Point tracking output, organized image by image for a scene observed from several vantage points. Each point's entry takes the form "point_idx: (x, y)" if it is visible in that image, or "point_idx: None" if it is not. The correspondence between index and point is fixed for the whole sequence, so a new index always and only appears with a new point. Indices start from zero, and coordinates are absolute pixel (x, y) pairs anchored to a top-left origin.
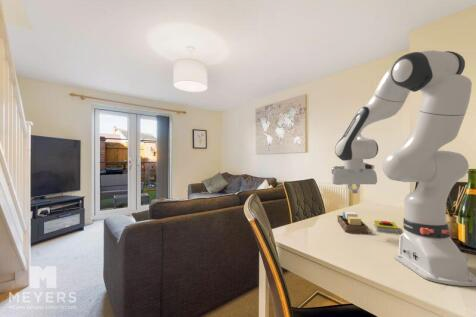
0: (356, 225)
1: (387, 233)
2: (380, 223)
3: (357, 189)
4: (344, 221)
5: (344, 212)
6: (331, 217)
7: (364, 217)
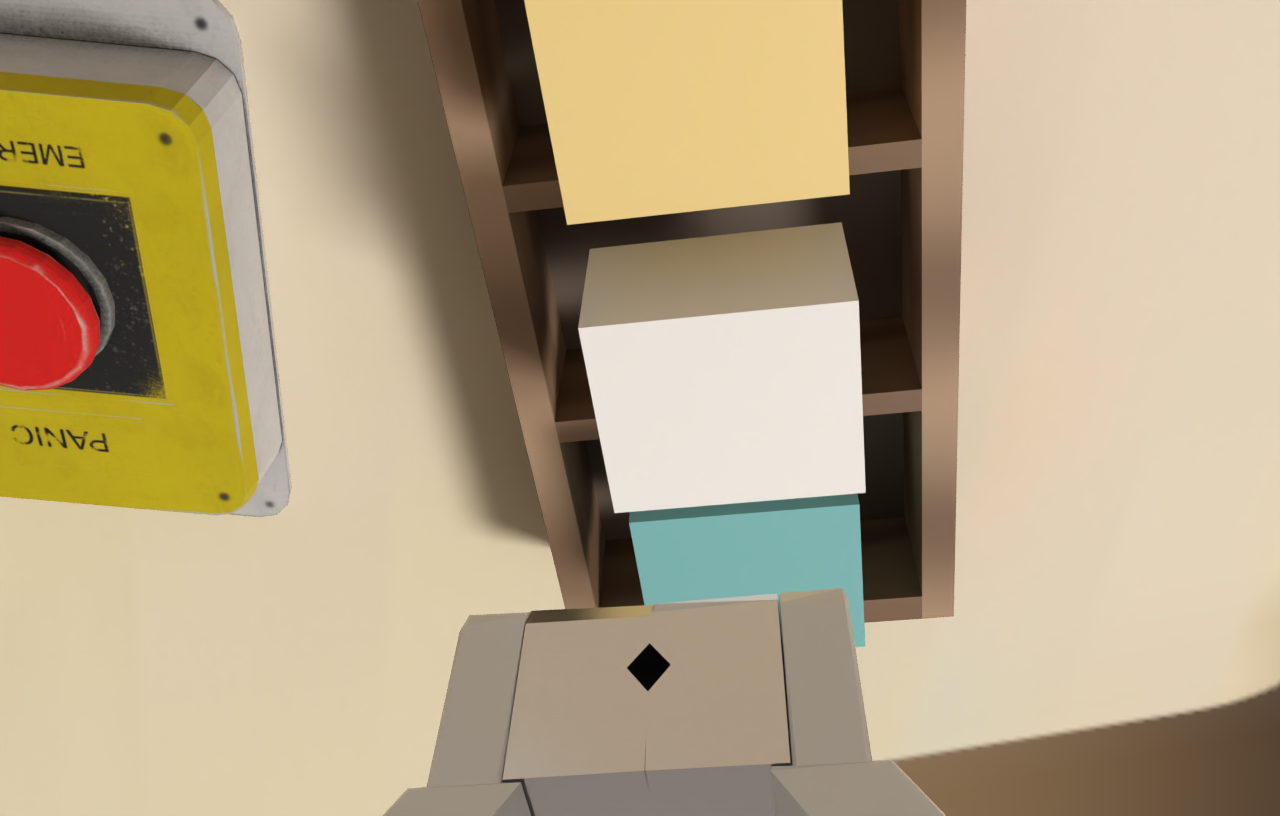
0: None
1: None
2: (131, 331)
3: (433, 805)
4: None
5: None
6: (995, 710)
7: None
